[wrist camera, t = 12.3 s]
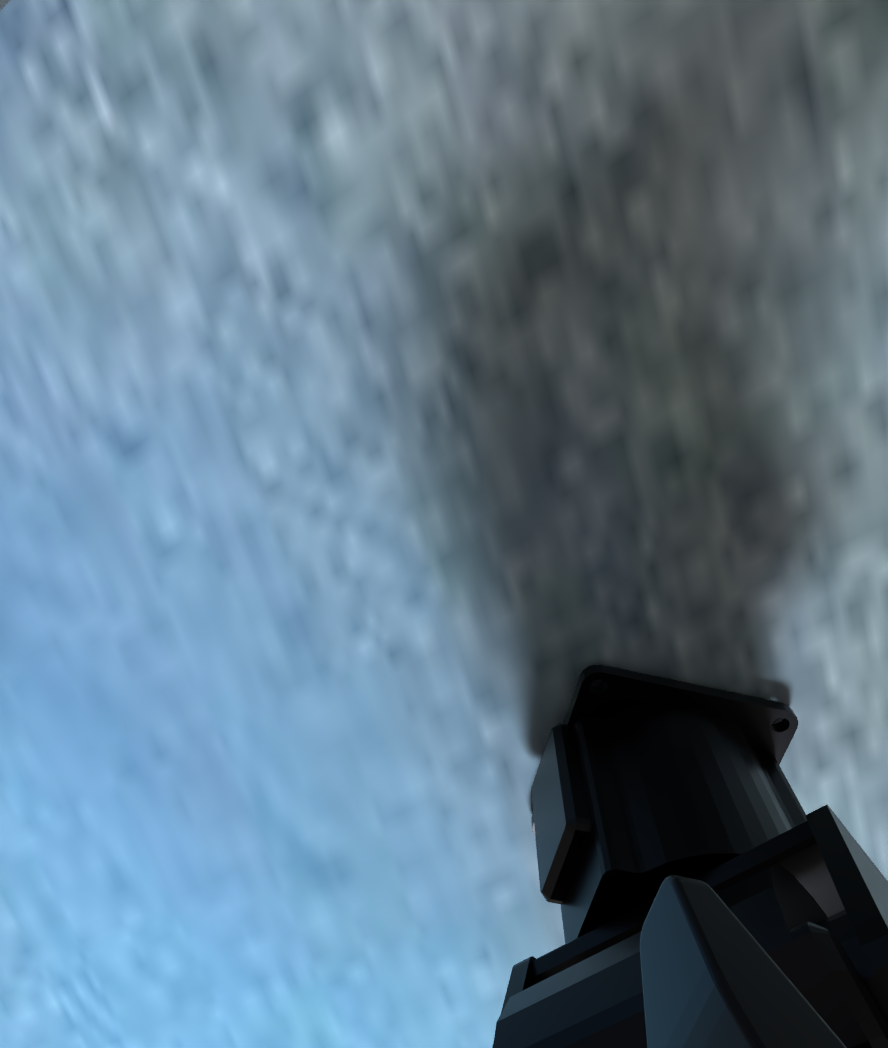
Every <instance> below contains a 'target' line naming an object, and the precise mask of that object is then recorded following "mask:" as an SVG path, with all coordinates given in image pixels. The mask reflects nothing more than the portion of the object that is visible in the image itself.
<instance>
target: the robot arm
mask: <svg viewBox="0 0 888 1048" xmlns="http://www.w3.org/2000/svg"><path fill="white" fill-rule="evenodd" d="M595 680H603V681H605V682H604V683H603V684H602V685H600V686H592V685H590V684H591V683H592V682H593V681H595ZM778 718H784V719H783V720H782V721H781V722H779V723H776V724H772V723H773V722H774V720H776V719H778ZM797 726H798V720H797V717H796V715H795V714H794V712H793V711H792V709H791V708H790V707H789V706H788V705H786V704H783V703H780V702H775V701H771V700H766V699H761V698H756V697H752V696H747V695H742V694H737V693H733V692H728V691H723V690H718V689H714V688H709V687H704V686H699V685H695V684H690V683H685V682H680V681H676V680H671V679H666V678H661V677H657V676H652V675H647V674H642V673H638V672H633V671H628V670H623V669H619V668H614V667H609V666H604V665H592V666H589V667H587V668H586V669H584V670H583V671H582V673H581V675H580V677H579V680H578V683H577V686H576V689H575V692H574V695H573V698H572V700H571V703H570V706H569V709H568V712H567V715H566V718H565V721H564V724H561V723H559V724H558V725H556V726H555V727H554V728H552V729H551V732H550V735H549V738H548V741H547V744H546V747H545V750H544V753H543V756H542V759H541V762H540V765H539V768H538V771H537V774H536V777H535V780H534V783H533V786H532V790H531V793H532V804H533V815H532V831H533V833H534V835H535V836H536V847H537V858H538V869H539V880H540V891H541V893H542V894H543V896H544V898H545V899H546V901H548V902H552V903H557V904H561V912H562V920H563V929H564V937H565V945H563V946H561V947H559V948H557V949H555V950H553V951H551V952H549V953H547V954H545V955H543V956H541V957H539V958H537V959H536V958H534V957H529V958H527V959H525V960H523V961H521V962H520V963H518V964H516V965H514V966H513V968H512V972H511V976H510V980H509V984H508V988H507V992H506V996H505V1000H504V1004H503V1008H502V1012H501V1015H500V1017H499V1019H498V1021H497V1024H496V1031H495V1038H494V1043H493V1047H492V1048H888V881H887V880H886V879H885V877H884V876H883V875H882V873H881V872H880V871H879V870H878V868H877V867H876V866H875V865H874V863H873V862H872V861H871V859H870V858H869V857H868V856H867V854H866V853H865V852H864V851H863V849H862V848H861V847H860V845H859V844H858V843H857V842H856V840H855V839H854V838H853V837H852V835H851V834H850V833H849V831H848V830H847V829H846V828H845V826H844V825H843V824H842V823H841V821H840V820H839V819H838V817H837V816H836V815H835V814H834V812H833V811H832V810H831V809H830V807H829V806H828V805H825V806H823V807H821V808H819V809H817V810H815V811H813V812H811V813H809V814H808V815H806V814H805V812H804V810H803V808H802V806H801V805H800V803H799V801H798V799H797V797H796V795H795V794H794V792H793V790H792V788H791V786H790V784H789V783H788V781H787V779H786V777H785V775H784V773H783V772H782V770H781V768H780V766H779V764H780V762H781V760H782V758H783V756H784V754H785V752H786V750H787V748H788V746H789V744H790V742H791V740H792V738H793V736H794V734H795V731H796V729H797Z"/></svg>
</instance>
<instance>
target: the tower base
mask: <svg viewBox="0 0 888 1048" xmlns="http://www.w3.org/2000/svg"><path fill="white" fill-rule="evenodd" d="M8 1H9V0H0V10H1V9H2V8H3V7H4V6H5V5H6V4H7V3H8Z"/></svg>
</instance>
